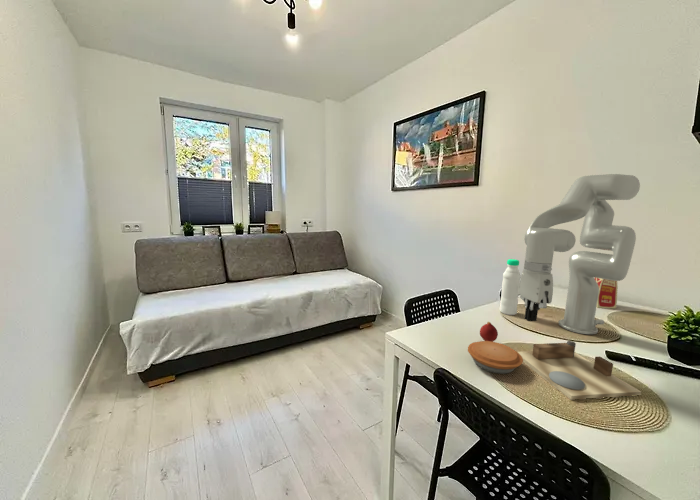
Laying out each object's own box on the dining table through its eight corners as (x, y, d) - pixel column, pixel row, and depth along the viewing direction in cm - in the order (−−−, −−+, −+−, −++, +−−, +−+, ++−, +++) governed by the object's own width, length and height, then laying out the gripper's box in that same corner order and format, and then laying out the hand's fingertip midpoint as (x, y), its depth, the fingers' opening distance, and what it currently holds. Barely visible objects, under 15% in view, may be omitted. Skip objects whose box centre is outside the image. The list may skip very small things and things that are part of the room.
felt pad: (567, 371, 84) (567, 370, 84) (592, 389, 76) (592, 387, 76) (542, 373, 83) (542, 371, 83) (565, 390, 75) (565, 389, 75)
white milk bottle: (516, 316, 128) (522, 262, 124) (498, 313, 132) (503, 260, 128) (516, 311, 134) (522, 259, 130) (500, 308, 138) (505, 257, 133)
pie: (457, 360, 92) (458, 346, 91) (482, 346, 101) (483, 333, 100) (506, 385, 80) (508, 368, 79) (530, 366, 89) (532, 352, 88)
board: (569, 352, 97) (570, 349, 97) (640, 395, 76) (641, 391, 75) (514, 355, 95) (514, 351, 95) (570, 400, 74) (571, 395, 74)
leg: (569, 353, 94) (571, 340, 93) (575, 357, 92) (577, 344, 91) (532, 354, 93) (533, 342, 92) (537, 358, 90) (539, 345, 90)
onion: (493, 339, 106) (495, 319, 105) (499, 347, 101) (501, 325, 99) (476, 338, 107) (478, 318, 106) (482, 346, 101) (484, 324, 100)
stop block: (598, 368, 86) (599, 356, 86) (611, 376, 82) (613, 363, 82) (593, 368, 86) (595, 356, 85) (606, 376, 82) (608, 364, 81)
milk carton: (597, 307, 140) (603, 267, 137) (585, 301, 149) (591, 263, 146) (618, 309, 139) (625, 268, 135) (605, 302, 148) (611, 264, 144)
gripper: (567, 272, 87) (558, 329, 90) (531, 262, 102) (525, 312, 105) (544, 272, 86) (536, 329, 89) (511, 262, 101) (505, 312, 104)
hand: (530, 320), depth 97 cm, fingers closed
